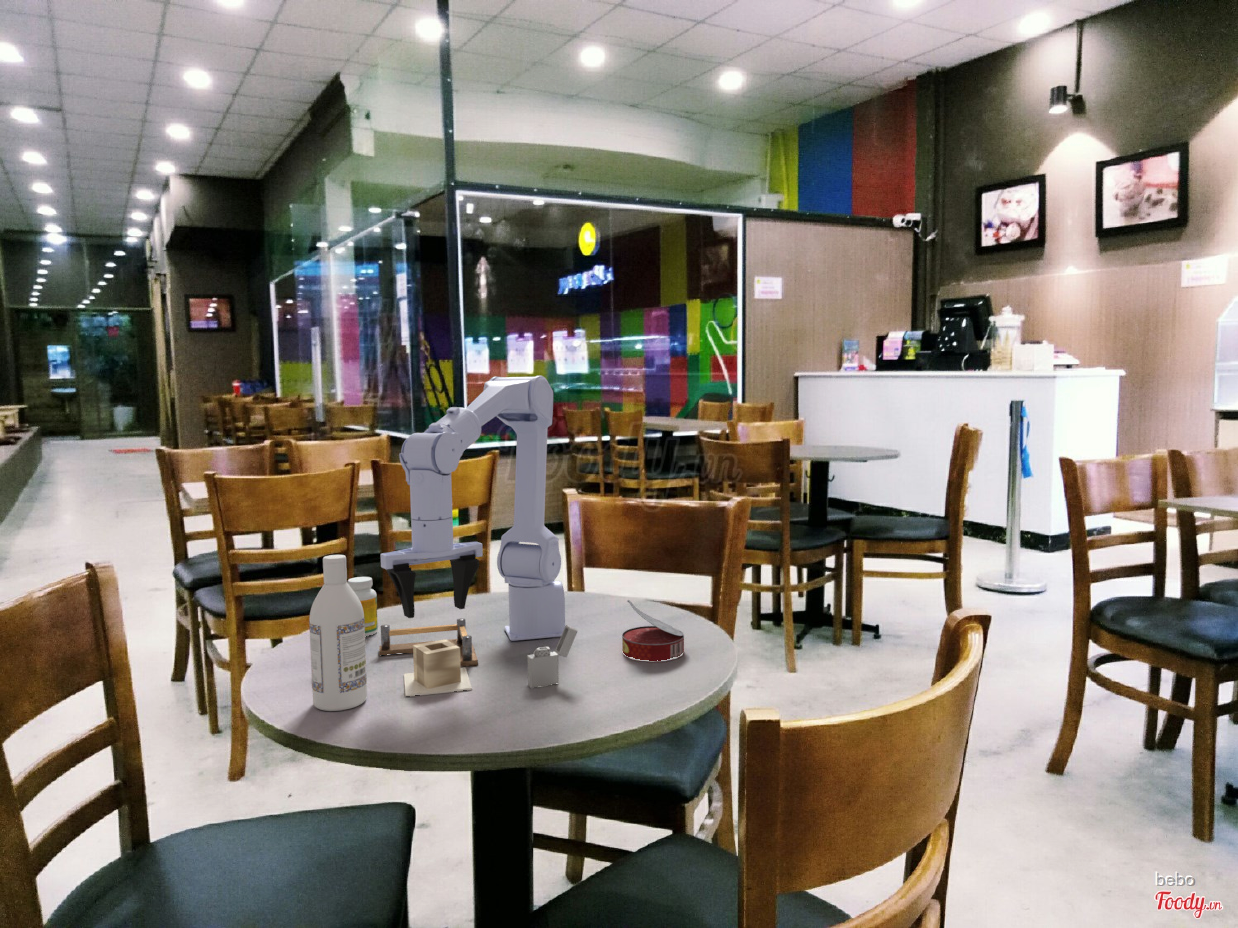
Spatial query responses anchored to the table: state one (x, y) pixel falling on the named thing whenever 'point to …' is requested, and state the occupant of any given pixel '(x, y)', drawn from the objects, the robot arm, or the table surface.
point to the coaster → (417, 689)
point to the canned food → (652, 640)
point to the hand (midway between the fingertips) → (434, 612)
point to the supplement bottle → (366, 602)
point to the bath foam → (337, 641)
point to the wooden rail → (462, 641)
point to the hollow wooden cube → (436, 663)
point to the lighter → (549, 660)
